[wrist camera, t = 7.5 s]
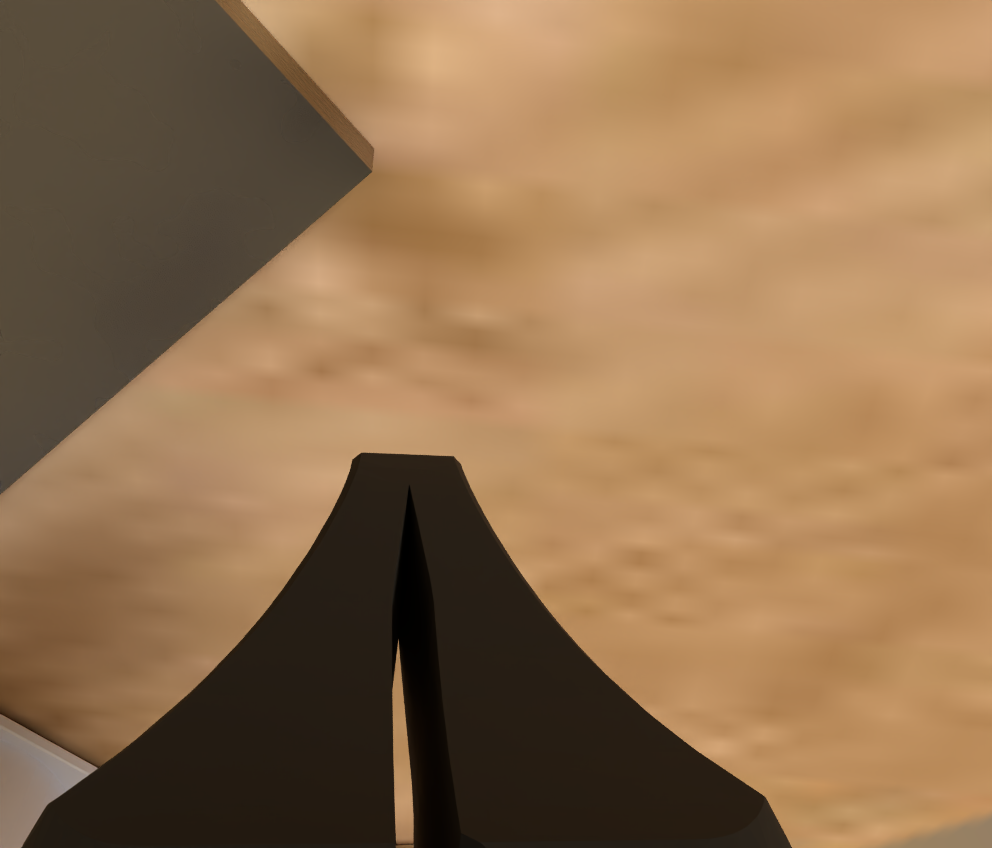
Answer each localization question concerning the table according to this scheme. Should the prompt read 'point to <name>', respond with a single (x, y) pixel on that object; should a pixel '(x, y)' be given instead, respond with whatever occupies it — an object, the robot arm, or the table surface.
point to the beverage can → (404, 846)
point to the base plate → (141, 190)
